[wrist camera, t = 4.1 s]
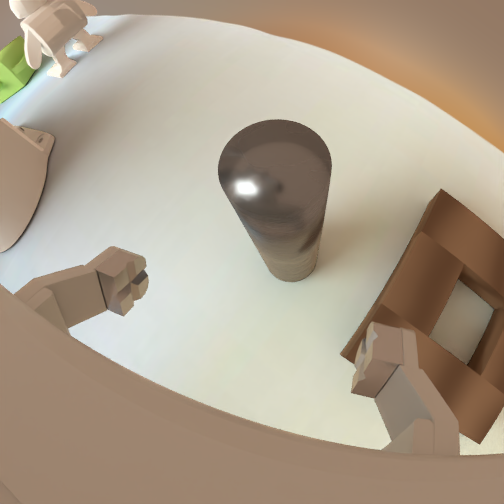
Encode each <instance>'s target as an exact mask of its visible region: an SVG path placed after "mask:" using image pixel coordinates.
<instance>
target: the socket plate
mask: <svg viewBox="0 0 504 504" xmlns="http://www.w3.org/2000/svg"><path fill="white" fill-rule="evenodd" d="M458 279H459V280H460V281H462V282H463V283H464V284H465V285H466V286H468V287H469V288H470V289H471V290H473V291H474V292H475V293H476V294H477V295H479V296H480V297H481V298H482V299H483V300H484V301H486V302H487V303H488V304H489V305H490V306H491V307H493V308H494V312H493V314H492V317H491V319H490V321H489V323H488V326H487V328H486V330H485V332H484V334H483V336H482V339H481V341H480V343H479V345H478V347H477V349H476V351H475V353H474V355H473V356H472V358H471V360H470V362H469V364H468V366H467V365H466V364H464V363H463V362H462V361H460V360H459V359H458V358H456V357H455V356H454V355H452V354H451V353H450V352H448V351H447V350H445V349H444V348H443V347H441V346H440V345H439V344H437V343H436V342H435V341H433V340H432V339H431V338H429V337H428V336H429V335H430V333H431V331H432V329H433V327H434V326H435V324H436V322H437V320H438V318H439V316H440V314H441V313H442V311H443V309H444V307H445V305H446V303H447V301H448V299H449V297H450V295H451V293H452V290H453V288H454V286H455V284H456V282H457V280H458ZM371 322H377V323H381V324H385V325H390V326H394V327H398V328H405V329H410V330H414V332H415V335H416V343H417V353H418V364H419V369H423V371H424V372H425V373H426V375H427V376H428V378H429V379H430V380H431V382H432V383H433V385H434V386H435V388H436V389H437V390H438V392H439V393H440V395H441V396H442V398H443V399H444V401H445V402H446V404H447V405H448V407H449V408H450V410H451V411H452V413H453V414H454V416H455V417H456V419H457V420H458V424H459V432H460V433H461V434H463V435H465V436H466V437H468V438H470V439H471V440H473V441H475V442H476V443H478V444H480V443H481V442H482V440H483V439H484V437H485V436H486V434H487V433H488V431H489V430H490V428H491V427H492V425H493V423H494V422H495V420H496V419H497V417H498V415H499V413H500V412H501V410H502V408H503V407H504V239H503V238H502V237H501V236H500V235H499V234H498V233H496V232H495V231H494V230H493V229H492V228H491V227H490V226H488V225H487V224H486V223H485V222H484V221H482V220H481V219H480V218H479V217H478V216H476V215H475V214H474V213H473V212H471V211H470V210H469V209H468V208H466V207H465V206H464V205H463V204H461V203H460V202H459V201H457V200H456V199H455V198H453V197H452V196H451V195H449V194H448V193H447V192H445V191H444V190H442V189H440V191H439V192H438V193H437V194H436V195H435V196H434V198H433V199H432V200H431V201H430V202H429V204H428V206H427V208H426V210H425V212H424V214H423V216H422V219H421V221H420V223H419V225H418V227H417V229H416V231H415V233H414V234H413V236H412V238H411V240H410V242H409V244H408V246H407V248H406V250H405V252H404V253H403V255H402V257H401V259H400V261H399V262H398V264H397V266H396V268H395V269H394V271H393V273H392V275H391V276H390V278H389V280H388V282H387V283H386V285H385V287H384V288H383V290H382V292H381V293H380V295H379V296H378V298H377V300H376V301H375V303H374V304H373V306H372V308H371V309H370V311H369V312H368V314H367V315H366V317H365V318H364V320H363V322H362V323H361V325H360V326H359V328H358V329H357V330H356V332H355V333H354V335H353V336H352V338H351V339H350V341H349V342H348V344H347V345H346V346H345V348H344V349H343V351H342V352H341V353H340V355H341V356H343V357H344V358H346V359H347V360H349V361H350V362H352V363H353V364H355V359H356V354H357V351H358V348H359V345H360V343H361V341H362V339H364V338H366V335H367V329H368V327H369V325H370V323H371Z"/></svg>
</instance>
